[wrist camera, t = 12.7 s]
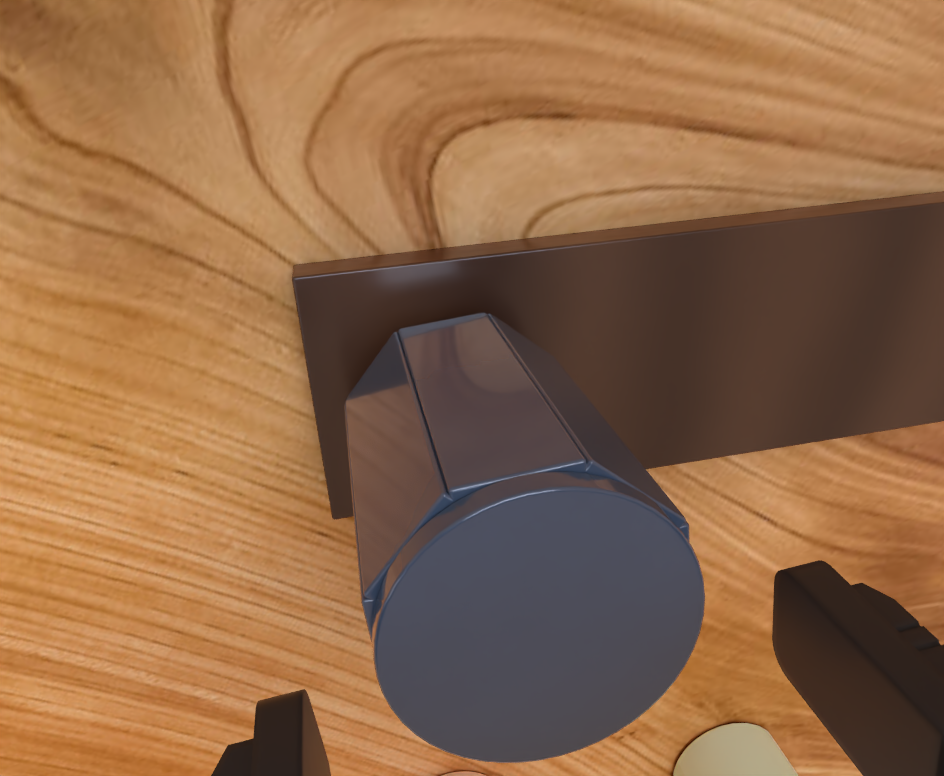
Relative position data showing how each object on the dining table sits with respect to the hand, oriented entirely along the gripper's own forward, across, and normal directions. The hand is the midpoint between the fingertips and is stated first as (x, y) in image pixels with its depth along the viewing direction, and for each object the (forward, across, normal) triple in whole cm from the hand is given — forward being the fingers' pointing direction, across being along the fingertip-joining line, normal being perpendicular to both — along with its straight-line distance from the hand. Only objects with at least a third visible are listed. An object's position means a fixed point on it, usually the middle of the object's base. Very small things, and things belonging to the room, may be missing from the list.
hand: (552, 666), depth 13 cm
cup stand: (+13, -7, +1) cm, 15 cm away
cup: (+10, 0, 0) cm, 10 cm away
